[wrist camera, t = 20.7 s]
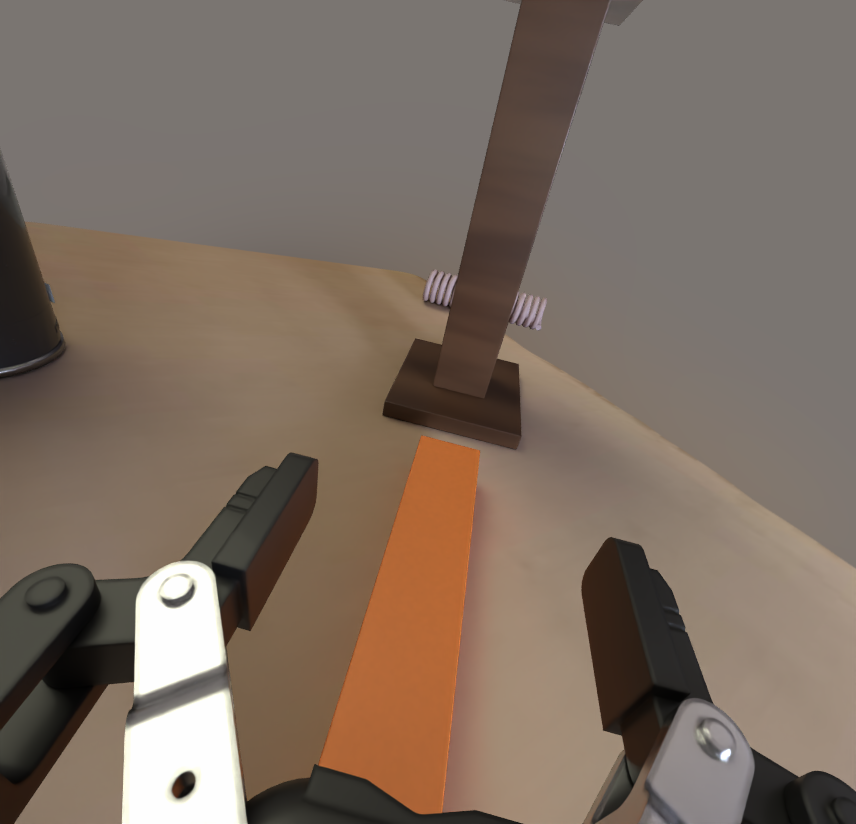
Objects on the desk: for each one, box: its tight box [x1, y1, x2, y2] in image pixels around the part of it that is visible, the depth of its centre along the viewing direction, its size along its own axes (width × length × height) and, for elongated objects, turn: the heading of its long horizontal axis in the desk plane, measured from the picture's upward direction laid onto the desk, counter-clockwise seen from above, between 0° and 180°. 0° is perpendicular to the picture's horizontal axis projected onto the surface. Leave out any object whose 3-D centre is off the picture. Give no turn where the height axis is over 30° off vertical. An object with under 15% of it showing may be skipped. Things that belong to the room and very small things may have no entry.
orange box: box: [318, 436, 480, 814], centre depth 21 cm, size 25×4×3 cm, turn 170°
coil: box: [423, 270, 547, 330], centre depth 61 cm, size 5×5×18 cm
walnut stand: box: [383, 0, 643, 449], centre depth 33 cm, size 19×12×32 cm, turn 170°
